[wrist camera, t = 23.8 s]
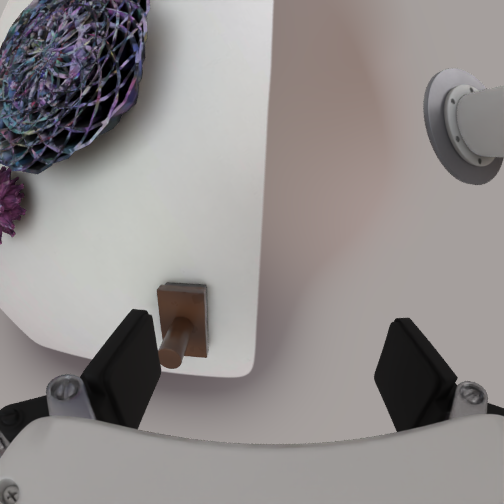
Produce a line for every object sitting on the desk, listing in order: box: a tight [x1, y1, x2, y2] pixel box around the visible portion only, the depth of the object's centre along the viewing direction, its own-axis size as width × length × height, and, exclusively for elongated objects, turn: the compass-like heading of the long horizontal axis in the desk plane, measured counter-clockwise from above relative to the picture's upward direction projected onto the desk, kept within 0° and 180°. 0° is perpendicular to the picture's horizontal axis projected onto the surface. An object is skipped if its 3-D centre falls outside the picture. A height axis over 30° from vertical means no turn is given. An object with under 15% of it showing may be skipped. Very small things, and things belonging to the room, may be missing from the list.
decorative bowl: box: [0, 0, 150, 174], centre depth 21 cm, size 26×28×10 cm
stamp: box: [157, 283, 208, 369], centre depth 30 cm, size 9×6×10 cm, turn 178°
